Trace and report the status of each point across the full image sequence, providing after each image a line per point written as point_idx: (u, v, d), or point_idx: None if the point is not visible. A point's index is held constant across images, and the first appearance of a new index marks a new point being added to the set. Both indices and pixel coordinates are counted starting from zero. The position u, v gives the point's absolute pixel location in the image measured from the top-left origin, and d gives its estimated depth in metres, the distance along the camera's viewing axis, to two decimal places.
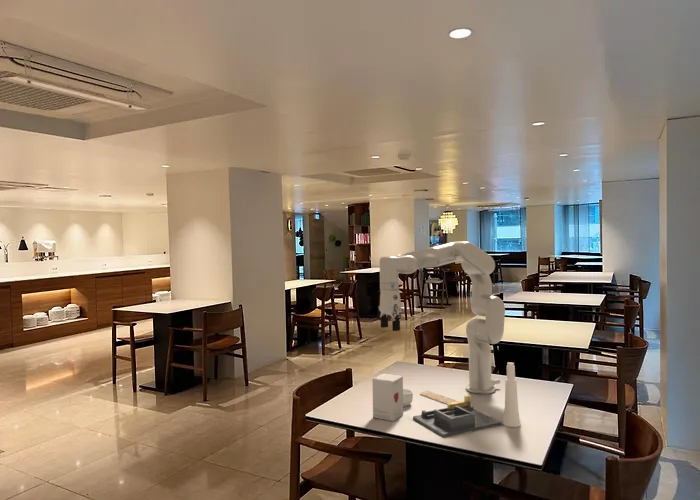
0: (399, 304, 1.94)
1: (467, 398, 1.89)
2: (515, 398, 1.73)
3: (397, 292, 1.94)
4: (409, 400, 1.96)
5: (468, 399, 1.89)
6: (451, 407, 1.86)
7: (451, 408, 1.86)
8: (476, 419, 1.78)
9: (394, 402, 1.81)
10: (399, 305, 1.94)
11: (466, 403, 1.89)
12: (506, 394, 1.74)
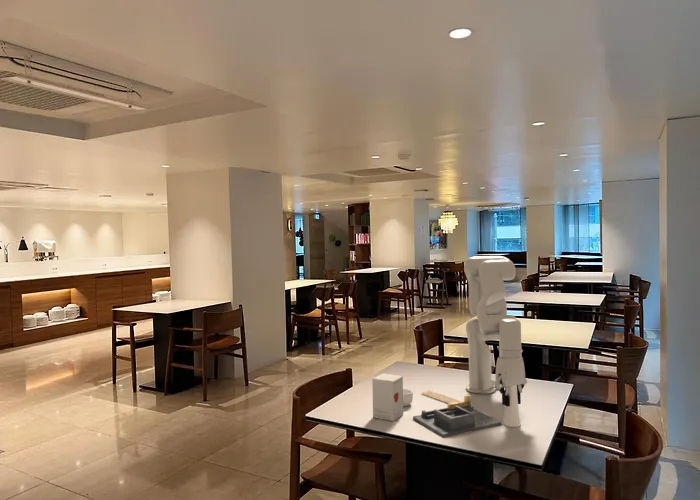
0: None
1: (467, 398, 1.89)
2: (515, 398, 1.73)
3: None
4: (409, 400, 1.96)
5: (468, 399, 1.89)
6: (451, 407, 1.86)
7: (451, 408, 1.86)
8: (476, 419, 1.78)
9: (394, 402, 1.81)
10: None
11: (466, 403, 1.89)
12: None
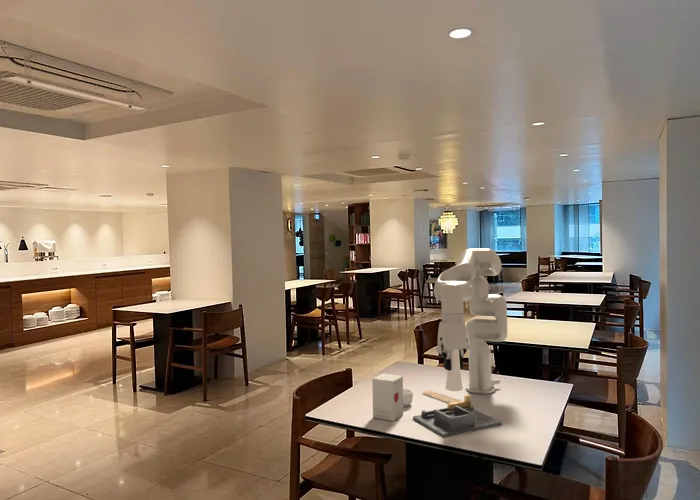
0: None
1: (467, 398, 1.89)
2: (457, 362, 1.73)
3: None
4: (409, 400, 1.96)
5: (468, 399, 1.89)
6: (451, 407, 1.86)
7: (451, 408, 1.86)
8: (476, 419, 1.78)
9: (394, 402, 1.81)
10: None
11: (466, 403, 1.89)
12: None
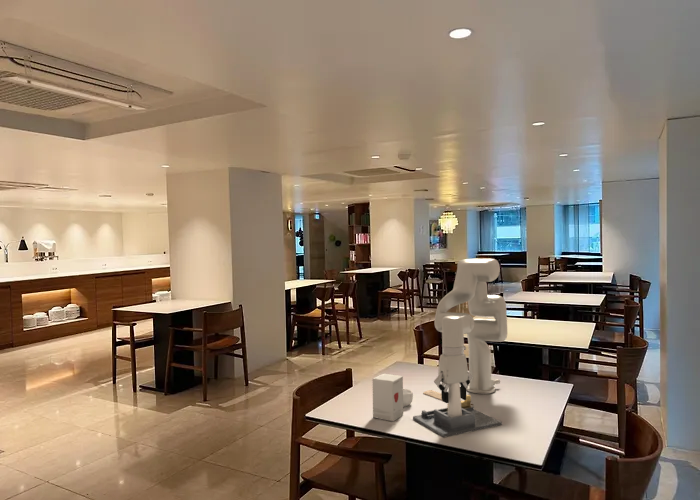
0: None
1: (467, 398, 1.89)
2: (458, 397, 1.73)
3: None
4: (409, 400, 1.96)
5: (468, 399, 1.89)
6: None
7: None
8: (476, 419, 1.78)
9: (394, 402, 1.81)
10: None
11: (466, 403, 1.89)
12: (449, 393, 1.74)
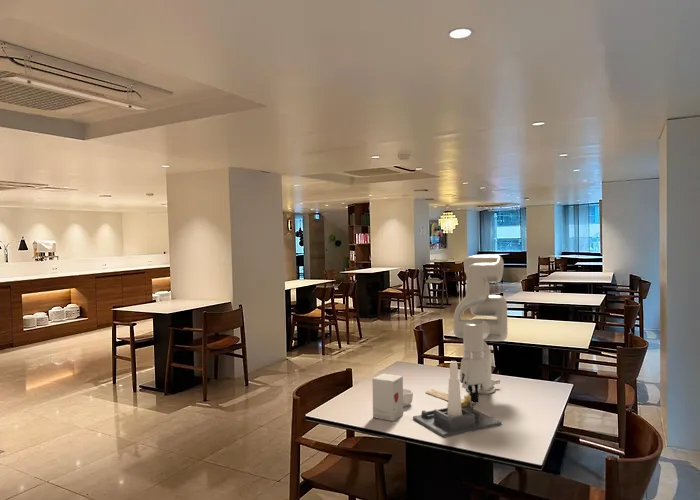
0: None
1: (467, 398, 1.89)
2: (458, 397, 1.73)
3: None
4: (409, 400, 1.96)
5: (468, 399, 1.89)
6: None
7: None
8: (476, 419, 1.78)
9: (394, 402, 1.81)
10: None
11: (466, 403, 1.89)
12: (449, 393, 1.74)
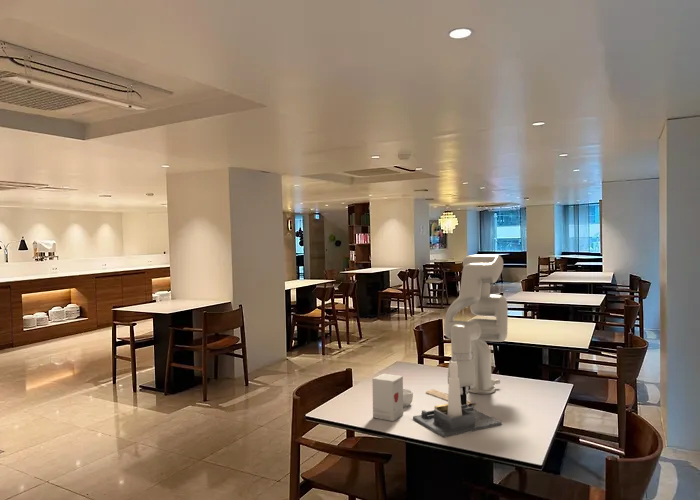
0: None
1: None
2: (458, 397, 1.73)
3: None
4: (409, 400, 1.96)
5: None
6: (438, 409, 1.84)
7: None
8: (476, 419, 1.78)
9: (394, 402, 1.81)
10: None
11: None
12: (449, 393, 1.74)
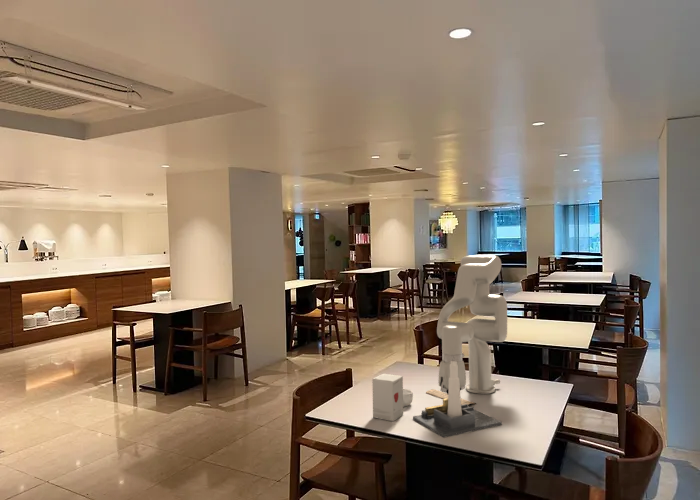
0: None
1: (445, 402, 1.85)
2: (458, 397, 1.73)
3: None
4: (409, 400, 1.96)
5: (446, 403, 1.85)
6: (429, 411, 1.82)
7: (429, 412, 1.82)
8: (476, 419, 1.78)
9: (394, 402, 1.81)
10: None
11: (444, 407, 1.85)
12: (449, 393, 1.74)
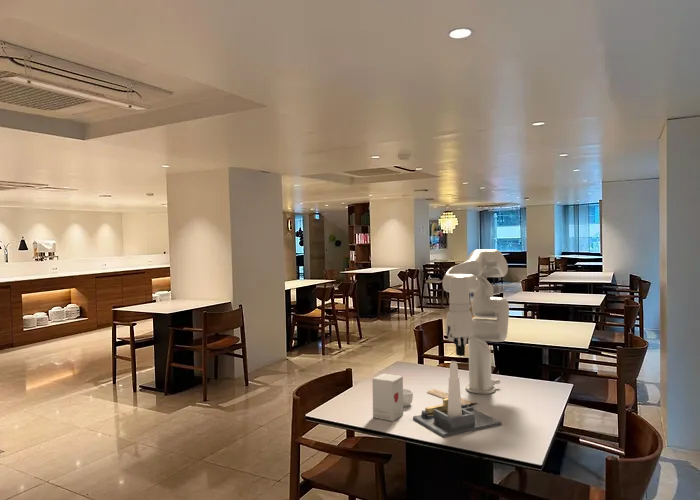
0: None
1: (446, 402, 1.85)
2: (458, 397, 1.73)
3: None
4: (409, 400, 1.96)
5: (447, 403, 1.85)
6: (429, 411, 1.82)
7: (429, 412, 1.82)
8: (476, 419, 1.78)
9: (394, 402, 1.81)
10: None
11: (444, 407, 1.85)
12: (449, 393, 1.74)
